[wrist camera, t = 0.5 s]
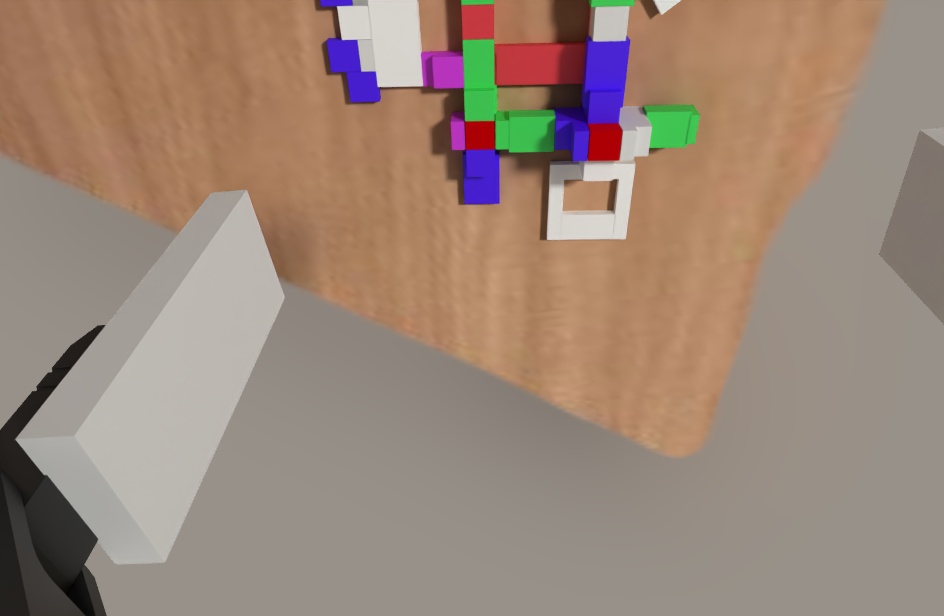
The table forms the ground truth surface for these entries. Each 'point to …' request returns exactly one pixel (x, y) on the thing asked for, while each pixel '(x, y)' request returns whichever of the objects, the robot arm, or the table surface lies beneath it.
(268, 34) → the table surface
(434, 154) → the table surface
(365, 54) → the building block set
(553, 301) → the table surface
